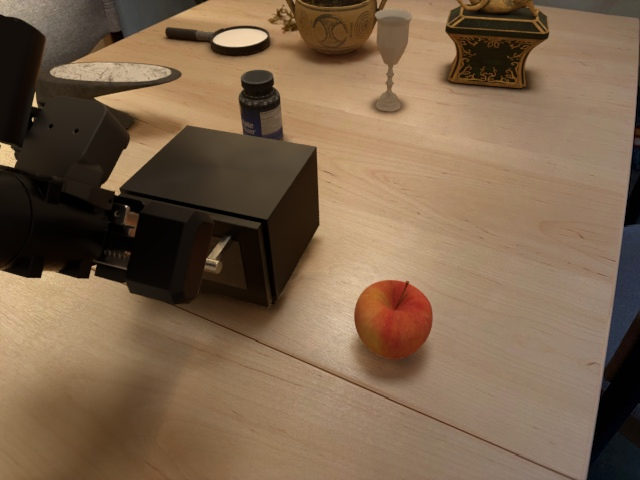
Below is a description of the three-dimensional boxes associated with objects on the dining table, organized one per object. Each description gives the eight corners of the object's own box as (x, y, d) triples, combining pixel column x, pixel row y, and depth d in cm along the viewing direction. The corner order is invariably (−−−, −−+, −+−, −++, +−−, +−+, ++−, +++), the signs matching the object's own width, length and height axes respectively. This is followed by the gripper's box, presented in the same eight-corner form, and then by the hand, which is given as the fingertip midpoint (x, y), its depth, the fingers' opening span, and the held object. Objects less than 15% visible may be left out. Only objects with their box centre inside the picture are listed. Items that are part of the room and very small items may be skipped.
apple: (338, 345, 53) (337, 290, 47) (385, 305, 56) (390, 250, 51) (395, 389, 49) (402, 335, 43) (442, 343, 52) (453, 288, 47)
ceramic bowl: (275, 63, 105) (267, -18, 95) (290, 32, 117) (285, -42, 107) (387, 67, 102) (392, -16, 92) (391, 34, 114) (395, -42, 104)
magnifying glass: (182, 27, 121) (180, 17, 120) (278, 36, 115) (278, 26, 114) (153, 47, 113) (151, 37, 111) (255, 59, 107) (254, 48, 105)
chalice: (411, 110, 89) (420, 18, 79) (380, 116, 87) (385, 24, 77) (395, 94, 93) (401, 6, 83) (365, 100, 92) (368, 11, 82)
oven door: (250, 341, 51) (234, 262, 44) (118, 304, 55) (85, 226, 48) (272, 301, 54) (262, 222, 47) (147, 269, 58) (120, 192, 51)
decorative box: (533, 69, 99) (562, -47, 86) (534, 92, 92) (566, -31, 79) (426, 61, 103) (438, -51, 90) (420, 82, 96) (432, -36, 83)
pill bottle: (238, 141, 83) (227, 74, 75) (271, 129, 85) (264, 63, 78) (256, 158, 79) (248, 89, 71) (291, 145, 81) (286, 77, 74)
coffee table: (38, 134, 86) (14, 79, 80) (64, 108, 93) (44, 56, 86) (183, 142, 83) (170, 85, 77) (200, 115, 90) (190, 61, 83)
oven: (279, 314, 56) (267, 219, 47) (150, 280, 60) (118, 188, 52) (320, 237, 65) (316, 146, 56) (206, 212, 69) (186, 124, 61)
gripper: (165, 102, 27) (271, 166, 42) (-96, 61, 32) (81, 131, 47) (117, 312, 27) (240, 301, 42) (-139, 238, 32) (53, 252, 47)
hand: (150, 240), depth 45 cm, fingers closed
